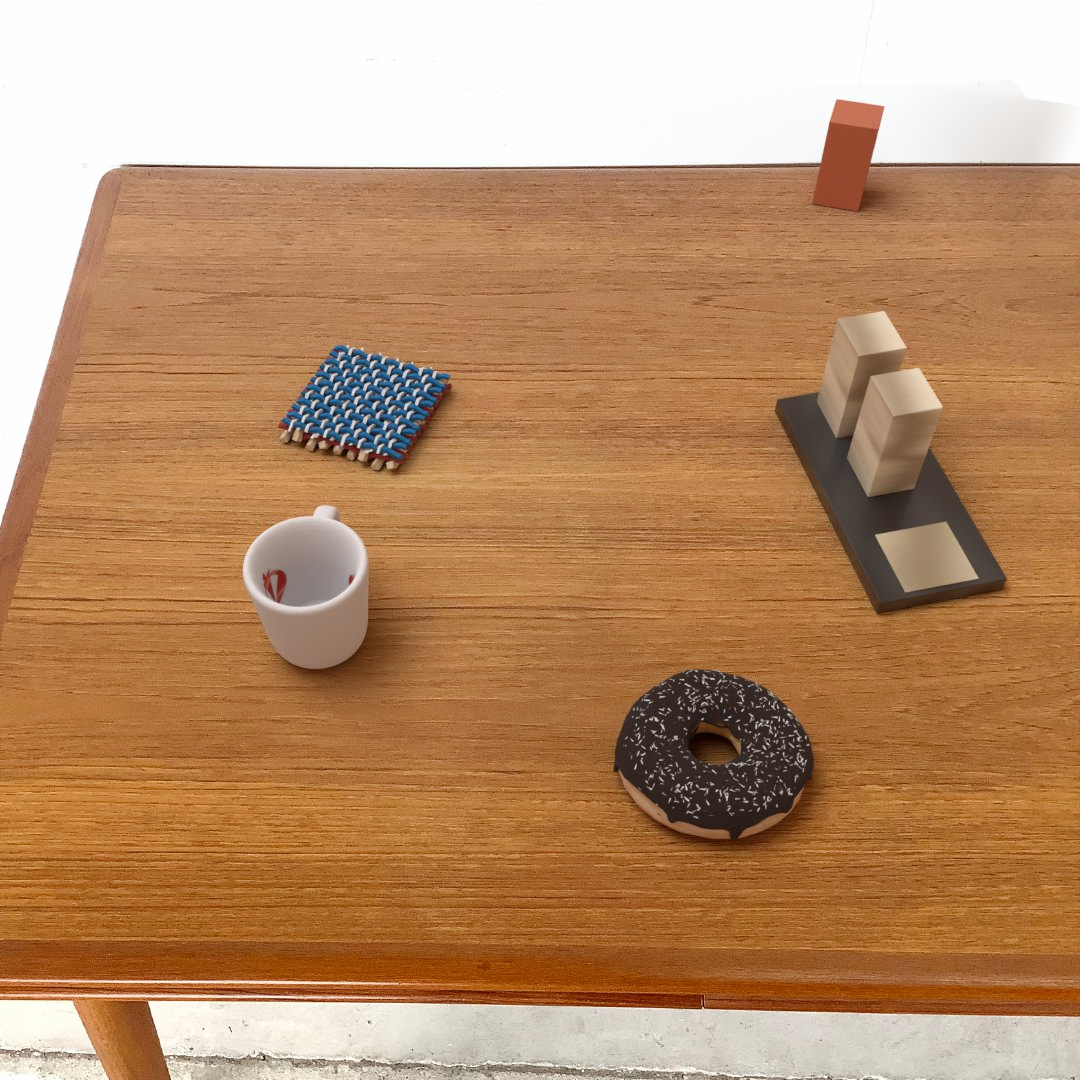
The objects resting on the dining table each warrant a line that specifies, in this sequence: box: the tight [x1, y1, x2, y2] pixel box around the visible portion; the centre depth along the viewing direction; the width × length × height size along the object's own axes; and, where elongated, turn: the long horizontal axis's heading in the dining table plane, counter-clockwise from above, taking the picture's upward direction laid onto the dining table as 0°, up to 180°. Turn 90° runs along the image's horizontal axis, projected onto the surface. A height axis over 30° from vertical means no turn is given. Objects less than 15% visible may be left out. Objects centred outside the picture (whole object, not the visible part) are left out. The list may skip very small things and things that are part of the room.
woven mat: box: [277, 344, 453, 471], centre depth 100 cm, size 10×11×2 cm
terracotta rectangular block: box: [811, 98, 885, 212], centre depth 112 cm, size 4×4×8 cm
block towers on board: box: [774, 310, 1008, 614], centre depth 90 cm, size 9×20×9 cm, turn 11°
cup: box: [242, 504, 370, 670], centre depth 86 cm, size 11×8×8 cm
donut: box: [612, 668, 815, 842], centre depth 80 cm, size 11×12×4 cm
